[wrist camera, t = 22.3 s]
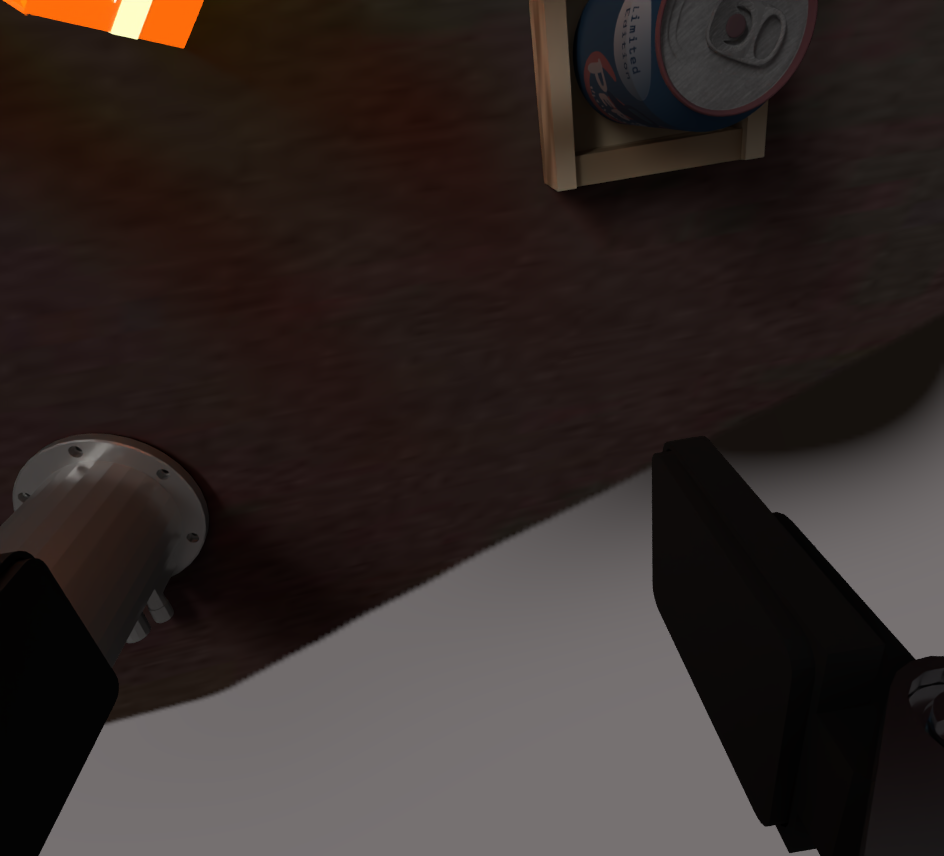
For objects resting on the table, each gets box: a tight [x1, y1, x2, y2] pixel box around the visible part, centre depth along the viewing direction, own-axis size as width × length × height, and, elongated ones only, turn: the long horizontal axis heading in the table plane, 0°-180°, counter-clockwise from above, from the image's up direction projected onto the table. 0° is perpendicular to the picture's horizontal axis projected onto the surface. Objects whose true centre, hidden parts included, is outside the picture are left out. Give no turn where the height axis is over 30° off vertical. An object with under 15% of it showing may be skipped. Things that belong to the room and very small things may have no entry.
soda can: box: [573, 0, 818, 132], centre depth 27 cm, size 7×7×12 cm
